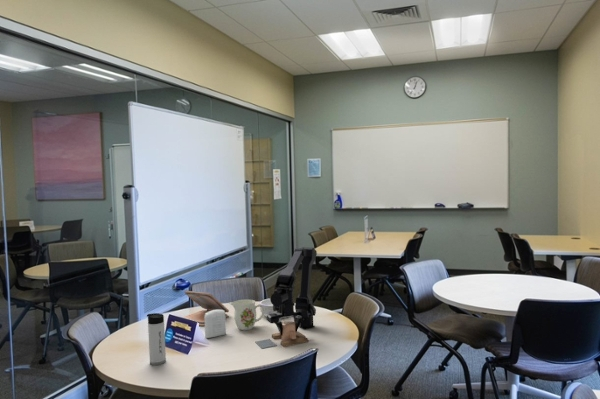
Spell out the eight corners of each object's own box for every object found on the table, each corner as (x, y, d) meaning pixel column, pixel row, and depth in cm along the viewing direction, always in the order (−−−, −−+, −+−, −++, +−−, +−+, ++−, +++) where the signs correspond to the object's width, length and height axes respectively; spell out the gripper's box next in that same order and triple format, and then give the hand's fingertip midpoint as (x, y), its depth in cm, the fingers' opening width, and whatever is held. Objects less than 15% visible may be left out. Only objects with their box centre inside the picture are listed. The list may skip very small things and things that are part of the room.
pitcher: (268, 327, 215) (267, 300, 215) (233, 334, 208) (232, 305, 207) (261, 321, 225) (259, 295, 225) (227, 327, 218) (226, 300, 217)
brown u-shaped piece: (295, 332, 207) (295, 329, 207) (308, 341, 194) (308, 338, 194) (271, 337, 202) (271, 334, 202) (283, 346, 189) (283, 343, 189)
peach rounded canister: (279, 338, 199) (278, 322, 199) (292, 336, 202) (291, 320, 202) (287, 345, 190) (287, 328, 190) (301, 342, 193) (300, 326, 193)
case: (231, 316, 237) (229, 287, 237) (203, 327, 220) (202, 296, 219) (204, 312, 248) (203, 284, 248) (175, 322, 231) (174, 292, 230)
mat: (269, 339, 199) (269, 338, 199) (276, 345, 191) (276, 345, 191) (255, 342, 196) (255, 341, 196) (261, 348, 188) (261, 348, 188)
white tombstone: (223, 332, 211) (222, 307, 211) (227, 334, 208) (226, 309, 207) (203, 336, 206) (202, 311, 205) (207, 339, 202) (206, 313, 202)
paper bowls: (254, 317, 233) (253, 303, 233) (270, 310, 246) (270, 296, 246) (277, 321, 225) (277, 306, 225) (293, 313, 238) (292, 299, 238)
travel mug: (151, 359, 180) (149, 312, 179) (167, 358, 180) (165, 311, 180) (147, 365, 174) (144, 316, 173) (164, 364, 174) (161, 315, 174)
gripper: (298, 293, 208) (299, 325, 209) (261, 299, 200) (263, 332, 201) (308, 299, 198) (309, 332, 199) (270, 305, 190) (271, 340, 191)
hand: (288, 334), depth 198 cm, fingers closed on peach rounded canister, 7 cm apart
